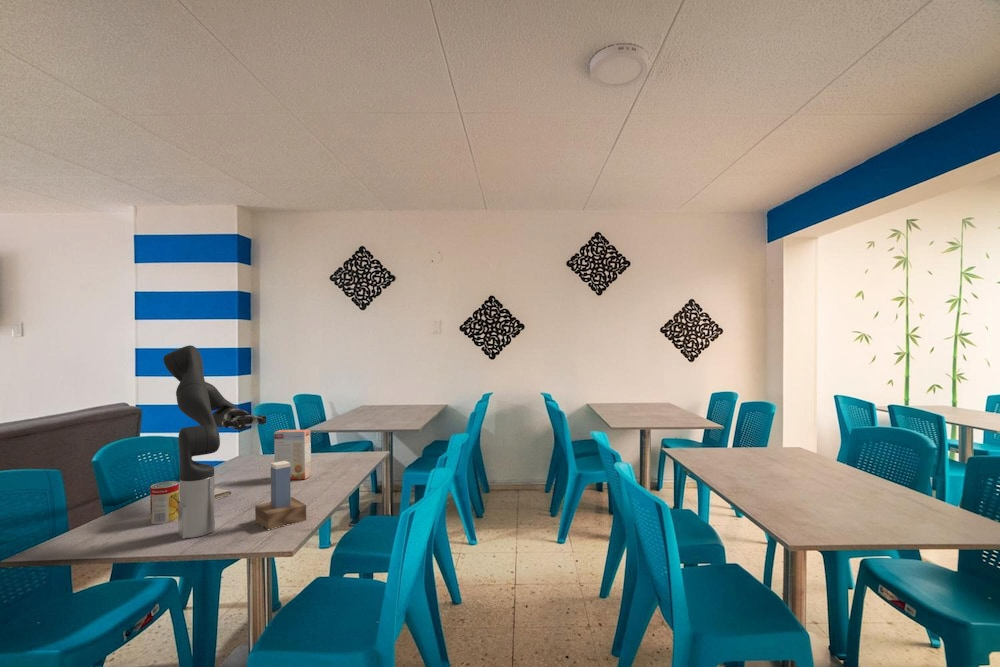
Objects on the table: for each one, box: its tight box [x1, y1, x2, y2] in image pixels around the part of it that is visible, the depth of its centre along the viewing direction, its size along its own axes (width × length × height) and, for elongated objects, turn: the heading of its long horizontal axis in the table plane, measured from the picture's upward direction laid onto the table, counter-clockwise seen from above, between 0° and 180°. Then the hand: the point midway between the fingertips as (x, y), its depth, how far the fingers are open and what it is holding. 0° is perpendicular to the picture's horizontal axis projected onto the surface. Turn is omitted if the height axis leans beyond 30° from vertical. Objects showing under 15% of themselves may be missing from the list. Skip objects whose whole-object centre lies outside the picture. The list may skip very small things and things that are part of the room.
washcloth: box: [179, 487, 232, 503], centre depth 182 cm, size 12×18×3 cm, turn 153°
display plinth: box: [254, 496, 307, 530], centre depth 159 cm, size 12×12×5 cm
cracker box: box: [273, 429, 312, 480], centre depth 210 cm, size 14×6×21 cm, turn 84°
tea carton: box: [270, 461, 291, 509], centre depth 159 cm, size 5×5×14 cm
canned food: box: [149, 480, 180, 525], centre depth 162 cm, size 8×8×12 cm
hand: (250, 423), depth 175 cm, fingers open, 8 cm apart
